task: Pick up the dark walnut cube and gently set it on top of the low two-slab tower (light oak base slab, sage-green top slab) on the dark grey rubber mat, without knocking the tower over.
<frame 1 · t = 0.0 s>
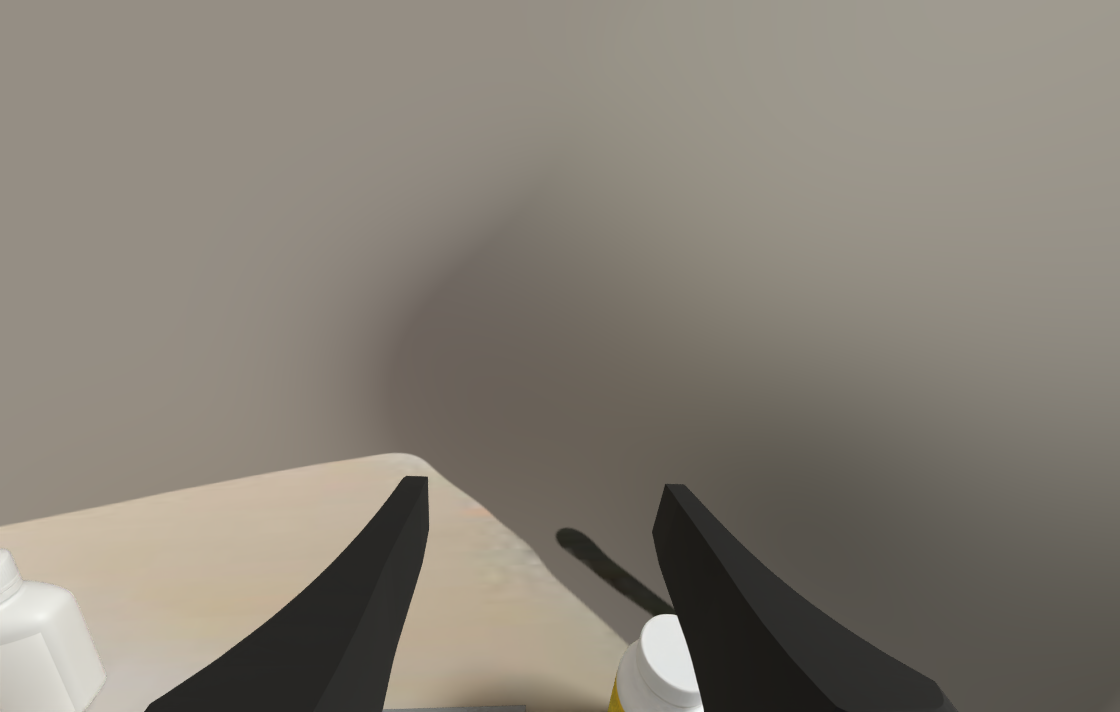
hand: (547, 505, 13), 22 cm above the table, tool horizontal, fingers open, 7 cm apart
eye dropper bottle: (40, 708, 25), on the table
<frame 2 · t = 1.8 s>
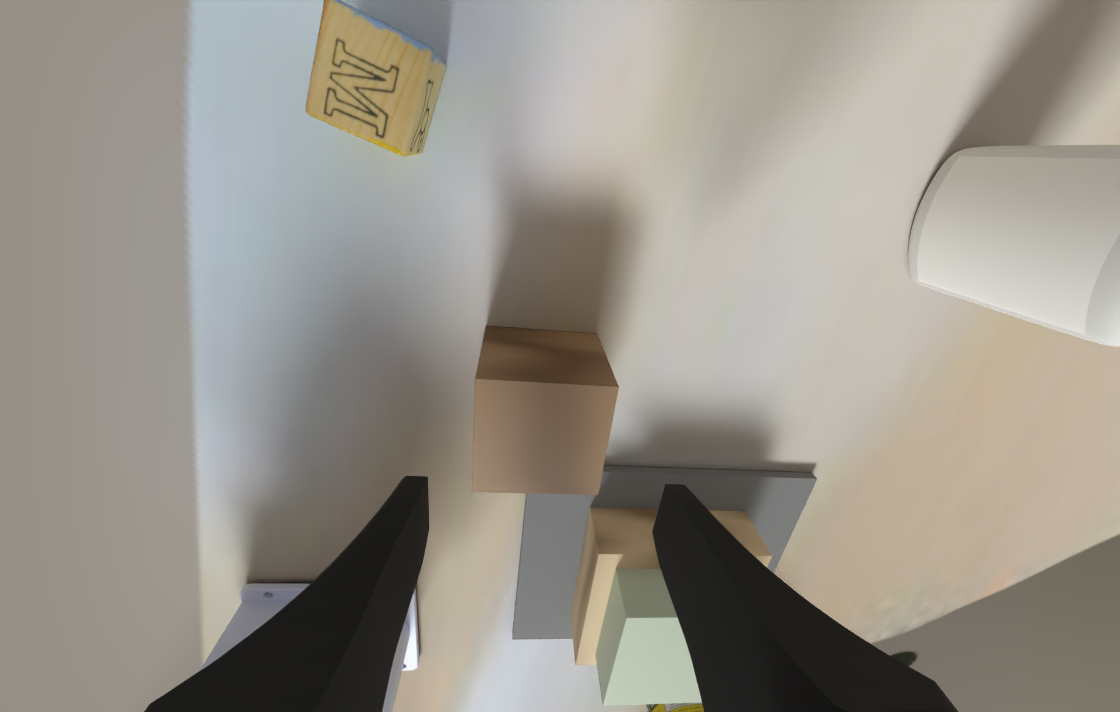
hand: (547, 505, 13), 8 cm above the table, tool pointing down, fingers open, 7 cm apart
supplement bottle: (676, 683, 33), on the table
eye dropper bottle: (943, 217, 19), on the table
mat: (650, 558, 26), on the table
tower top: (668, 613, 23), point 3 cm above the table, touching tower base
walnut cube: (537, 377, 20), on the table
alphabet block: (395, 92, 15), on the table
tower base: (652, 565, 26), resting on mat, touching tower top
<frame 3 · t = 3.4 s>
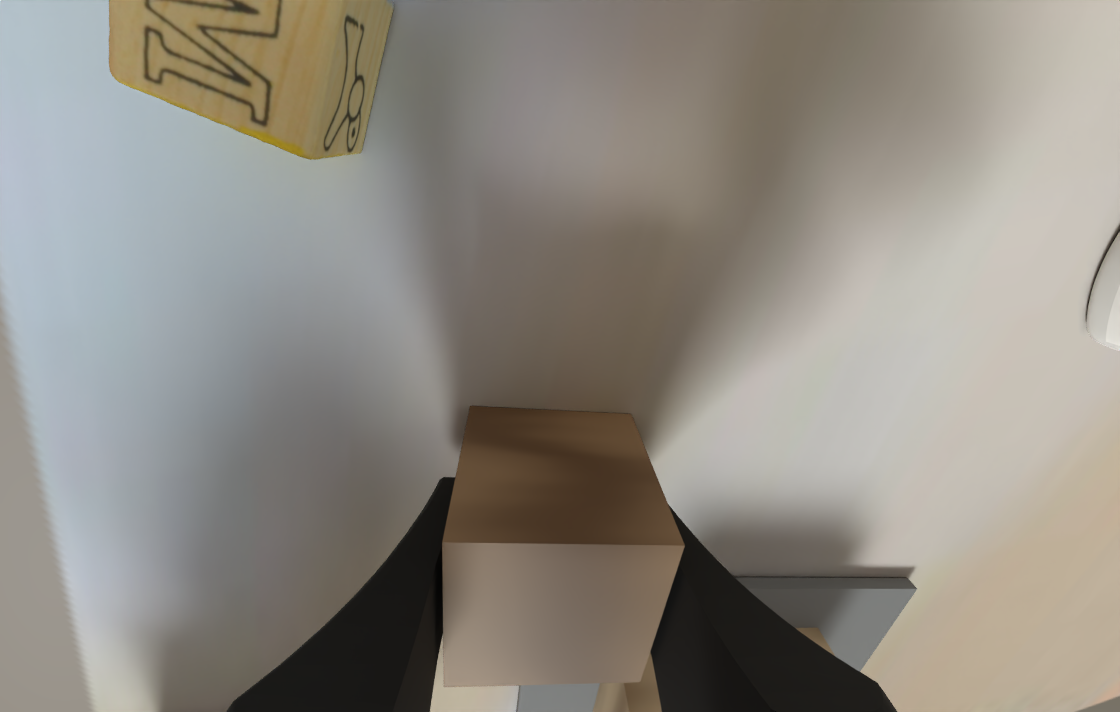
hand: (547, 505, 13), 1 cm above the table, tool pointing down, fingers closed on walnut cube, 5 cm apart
mat: (689, 677, 20), on the table
walnut cube: (544, 473, 14), on the table, touching gripper
alphabet block: (313, 53, 9), on the table
tower base: (692, 689, 20), resting on mat, touching tower top
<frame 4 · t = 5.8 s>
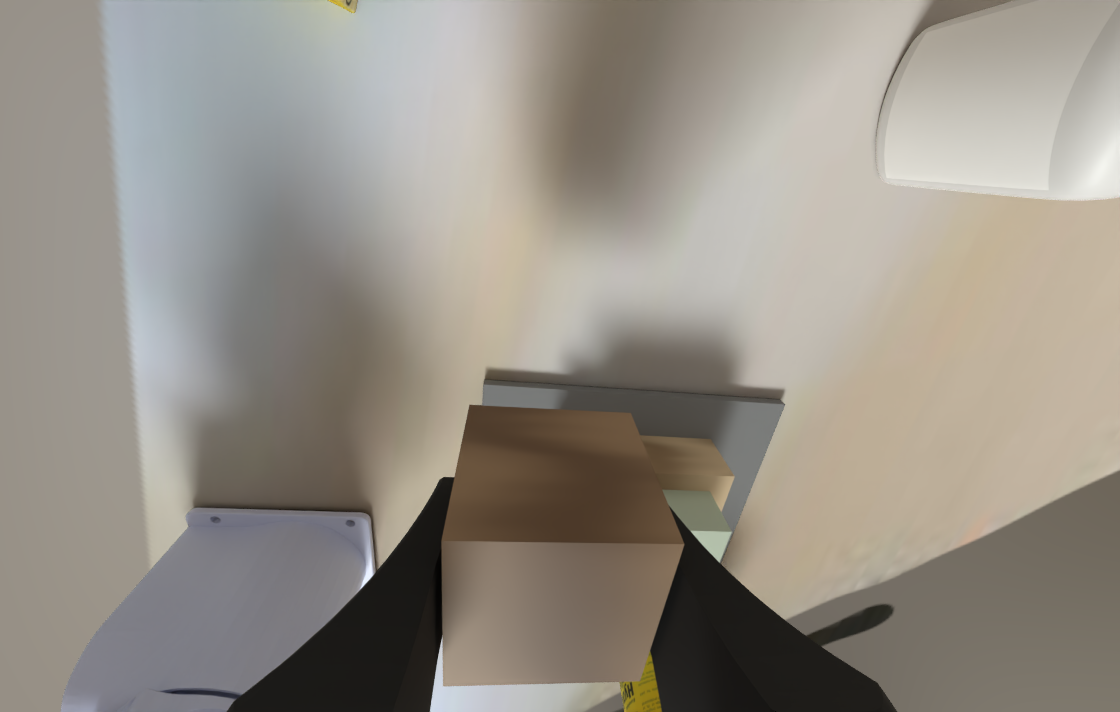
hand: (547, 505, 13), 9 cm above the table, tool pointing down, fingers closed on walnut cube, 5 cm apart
supplement bottle: (646, 634, 32), on the table
eye dropper bottle: (913, 110, 18), on the table
mat: (615, 491, 25), on the table
tower top: (628, 540, 22), point 3 cm above the table, touching tower base
walnut cube: (544, 472, 14), point 8 cm above the table, touching gripper
tower base: (616, 498, 25), resting on mat, touching tower top
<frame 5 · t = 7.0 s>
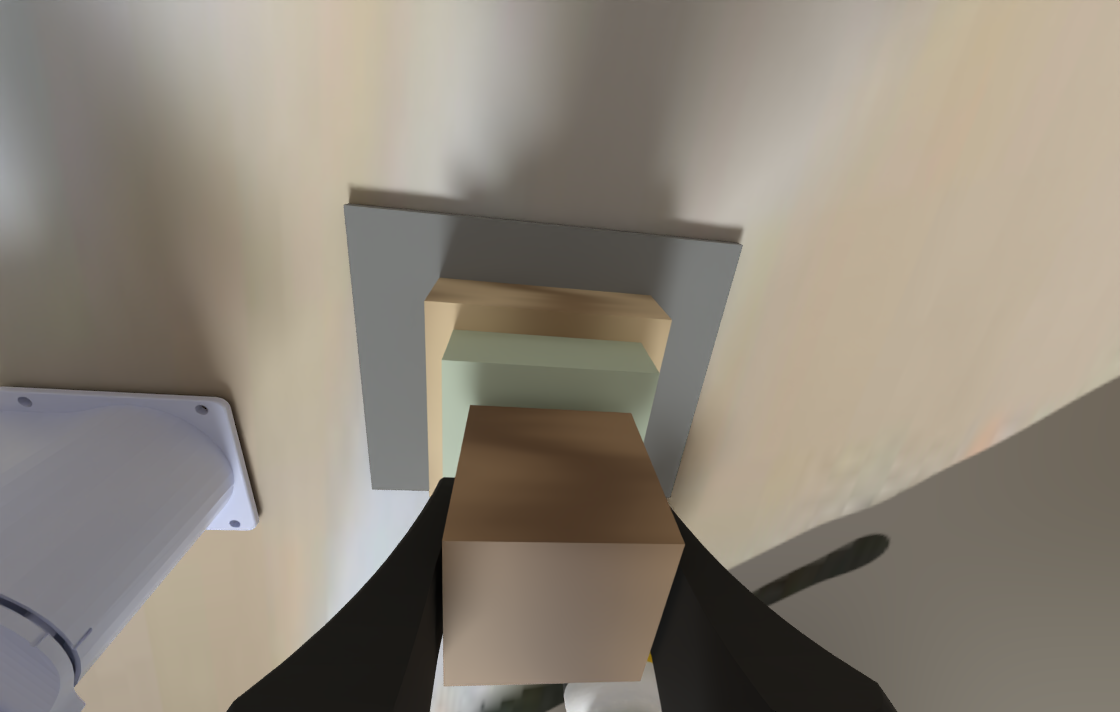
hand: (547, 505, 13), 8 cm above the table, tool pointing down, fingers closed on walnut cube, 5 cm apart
supplement bottle: (597, 571, 27), on the table
mat: (538, 374, 21), on the table
tower top: (541, 415, 17), point 3 cm above the table, touching tower base
walnut cube: (544, 472, 14), point 7 cm above the table, touching gripper
tower base: (538, 379, 20), resting on mat, touching tower top
when the fingers open (8 cm above the table, at t = 8.2 s): walnut cube stays where it is, resting on tower top.
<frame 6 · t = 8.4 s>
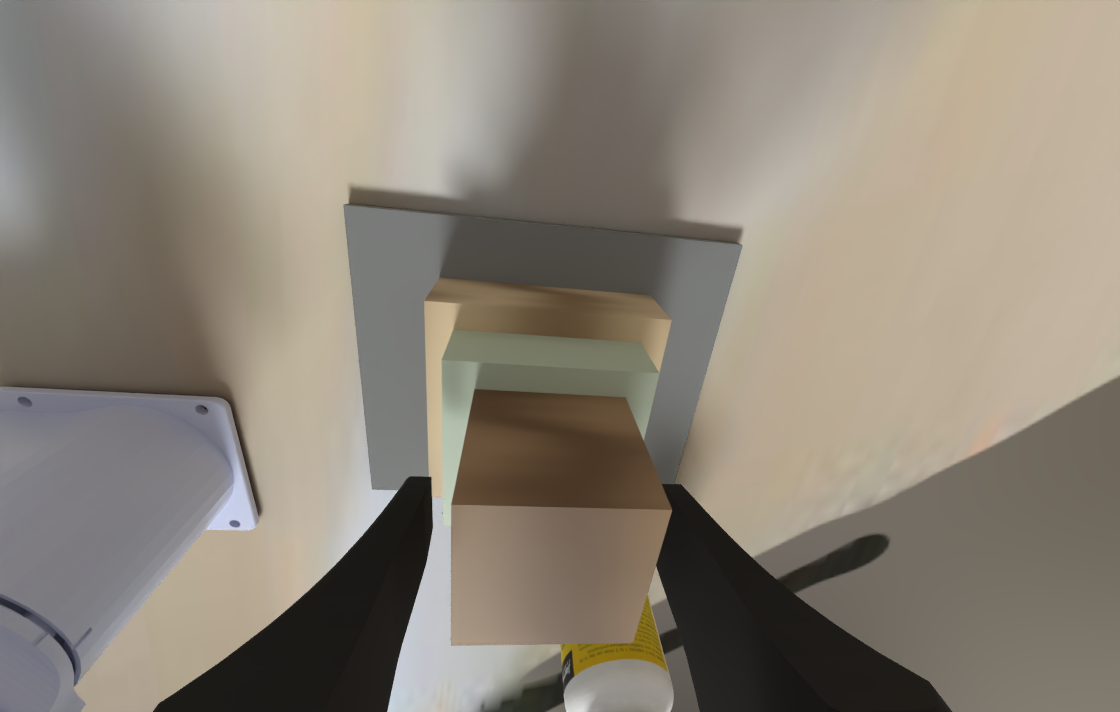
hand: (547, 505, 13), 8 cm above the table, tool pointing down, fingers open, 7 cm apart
supplement bottle: (597, 571, 27), on the table
mat: (538, 374, 21), on the table
tower top: (540, 415, 17), point 3 cm above the table, touching tower base, walnut cube
walnut cube: (544, 454, 15), point 6 cm above the table, touching tower top
tower base: (538, 379, 20), resting on mat, touching tower top
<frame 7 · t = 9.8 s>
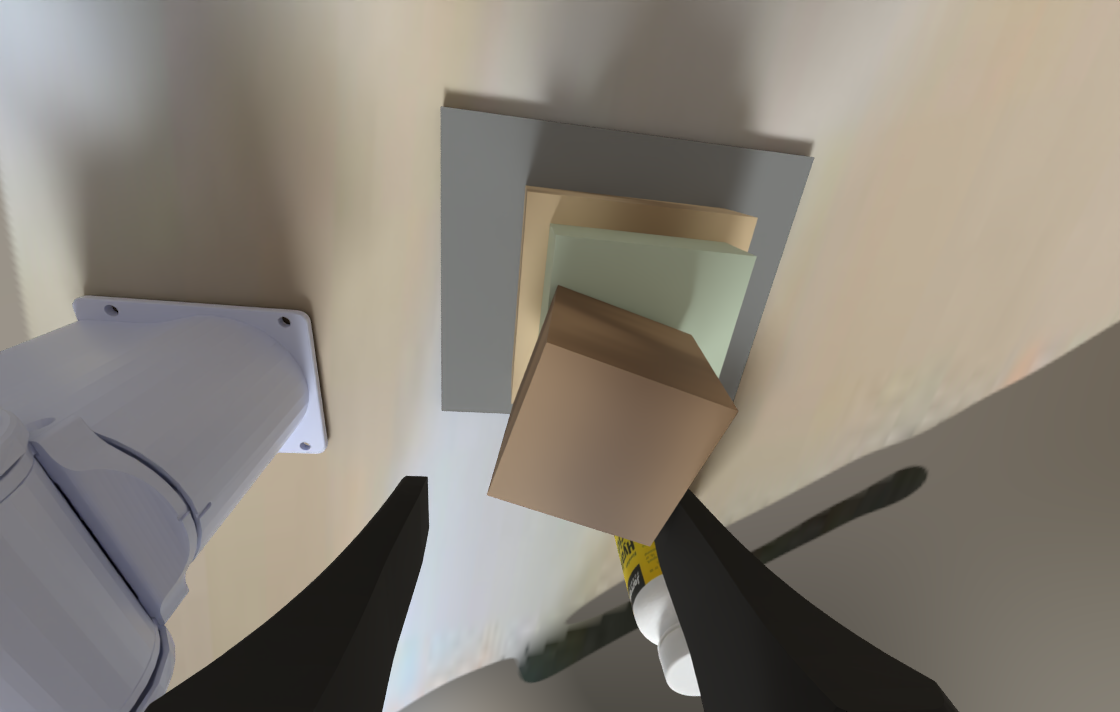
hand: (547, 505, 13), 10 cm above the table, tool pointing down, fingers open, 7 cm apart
supplement bottle: (648, 504, 28), on the table
mat: (609, 292, 21), on the table
tower top: (623, 317, 18), point 3 cm above the table, touching tower base, walnut cube
walnut cube: (598, 370, 16), point 6 cm above the table, tilted 8°, touching gripper, tower top
tower base: (611, 295, 21), resting on mat, touching tower top
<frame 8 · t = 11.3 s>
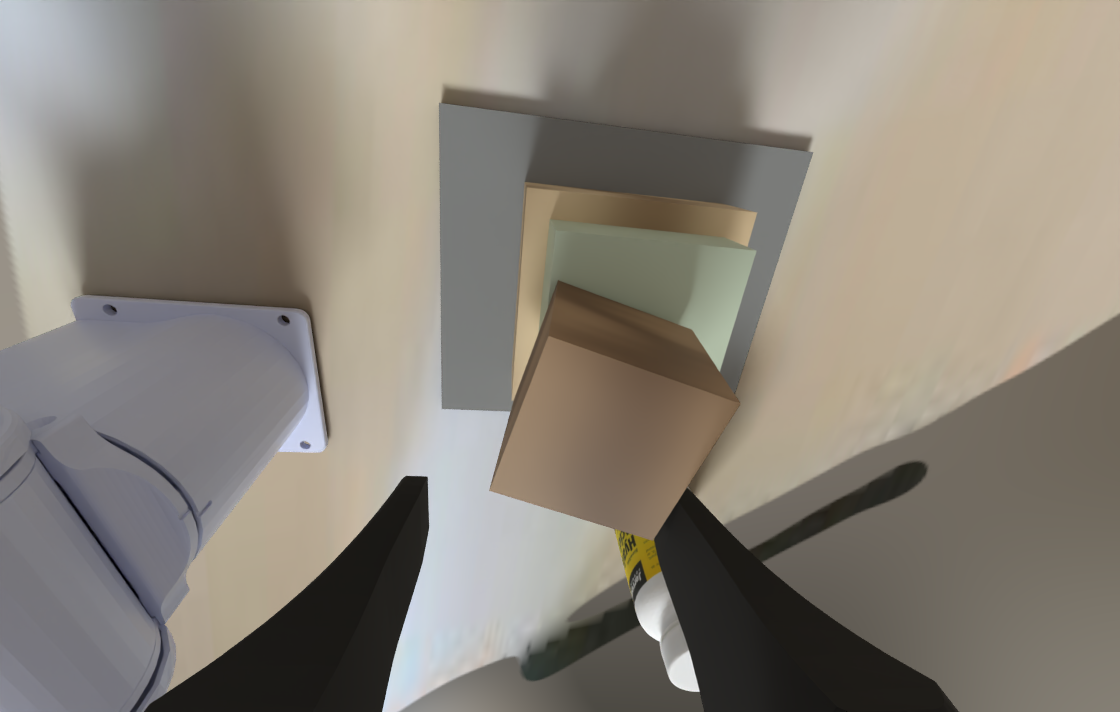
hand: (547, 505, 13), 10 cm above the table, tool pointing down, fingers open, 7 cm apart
supplement bottle: (649, 501, 28), on the table
mat: (608, 288, 21), on the table
tower top: (623, 313, 18), point 3 cm above the table, touching tower base, walnut cube
walnut cube: (598, 366, 16), point 6 cm above the table, tilted 8°, touching gripper, tower top
tower base: (610, 292, 21), resting on mat, touching tower top
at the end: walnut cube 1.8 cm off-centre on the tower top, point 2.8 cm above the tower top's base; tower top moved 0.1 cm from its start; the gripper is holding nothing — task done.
